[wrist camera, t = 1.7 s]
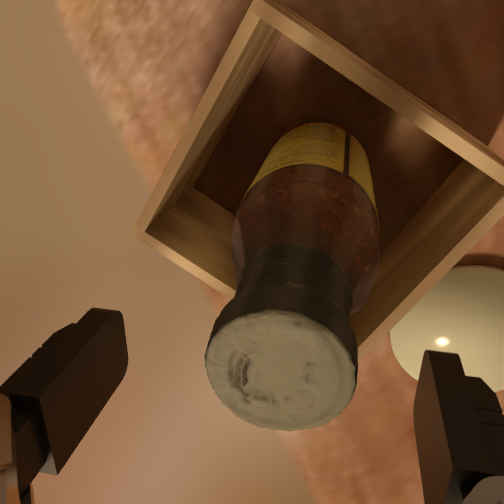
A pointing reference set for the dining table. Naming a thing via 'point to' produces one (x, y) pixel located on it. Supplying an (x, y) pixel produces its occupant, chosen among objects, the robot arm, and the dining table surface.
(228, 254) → the caddy
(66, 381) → the robot arm
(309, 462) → the dining table surface
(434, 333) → the saucer
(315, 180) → the sauce bottle
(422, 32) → the dining table surface
